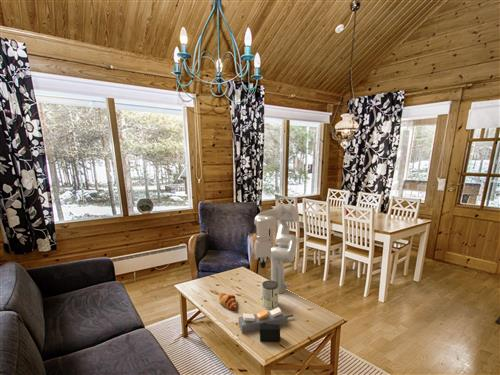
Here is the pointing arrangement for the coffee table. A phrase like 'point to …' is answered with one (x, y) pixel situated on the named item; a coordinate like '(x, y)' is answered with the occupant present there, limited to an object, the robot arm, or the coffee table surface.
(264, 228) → the robot arm
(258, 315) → the amber rocker
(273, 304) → the coffee can
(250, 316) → the block
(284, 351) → the coffee table surface
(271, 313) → the white rocker
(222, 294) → the croissant
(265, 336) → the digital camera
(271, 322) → the power strip
